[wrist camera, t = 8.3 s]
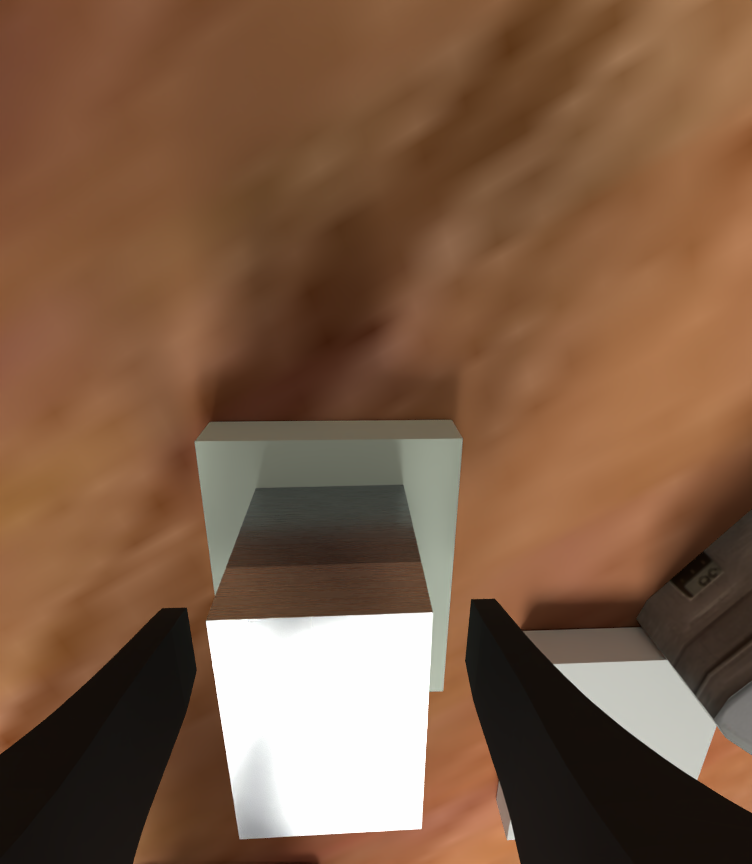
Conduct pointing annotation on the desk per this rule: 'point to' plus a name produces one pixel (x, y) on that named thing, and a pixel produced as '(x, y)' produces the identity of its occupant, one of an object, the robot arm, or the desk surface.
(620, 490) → the desk surface
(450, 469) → the stand
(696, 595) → the hard drive
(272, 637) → the block
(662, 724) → the stand
